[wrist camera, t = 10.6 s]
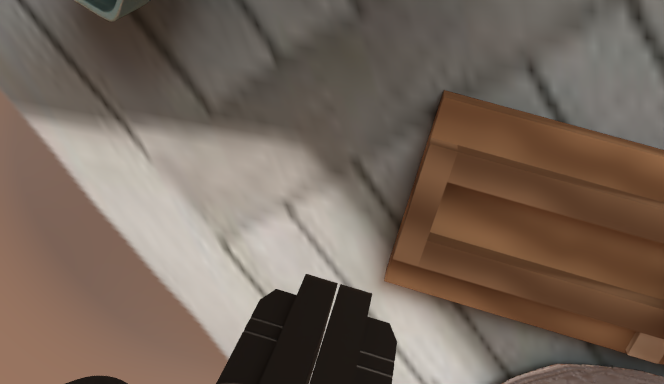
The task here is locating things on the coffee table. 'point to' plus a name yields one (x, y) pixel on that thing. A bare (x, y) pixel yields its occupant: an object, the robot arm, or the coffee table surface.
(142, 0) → the flower pot
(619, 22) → the coffee table surface
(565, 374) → the food plate
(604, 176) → the console
